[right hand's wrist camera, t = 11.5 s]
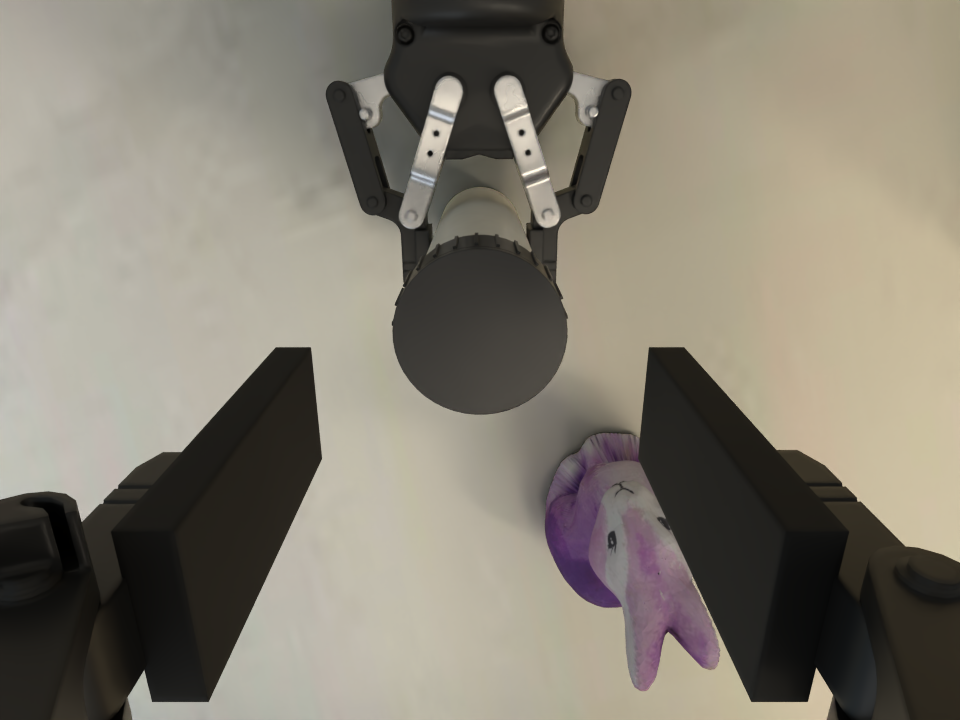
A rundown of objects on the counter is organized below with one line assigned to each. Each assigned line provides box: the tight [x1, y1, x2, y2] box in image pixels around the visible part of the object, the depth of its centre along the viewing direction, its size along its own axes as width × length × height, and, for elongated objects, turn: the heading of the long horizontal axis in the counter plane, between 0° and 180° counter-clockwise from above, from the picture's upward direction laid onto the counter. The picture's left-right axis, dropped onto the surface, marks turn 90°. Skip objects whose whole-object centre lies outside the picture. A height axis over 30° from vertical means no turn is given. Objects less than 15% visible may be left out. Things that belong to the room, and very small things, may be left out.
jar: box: [427, 187, 532, 254], centre depth 28 cm, size 5×5×20 cm
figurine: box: [545, 433, 720, 691], centre depth 36 cm, size 9×10×15 cm
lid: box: [392, 233, 568, 415], centre depth 20 cm, size 5×5×2 cm
